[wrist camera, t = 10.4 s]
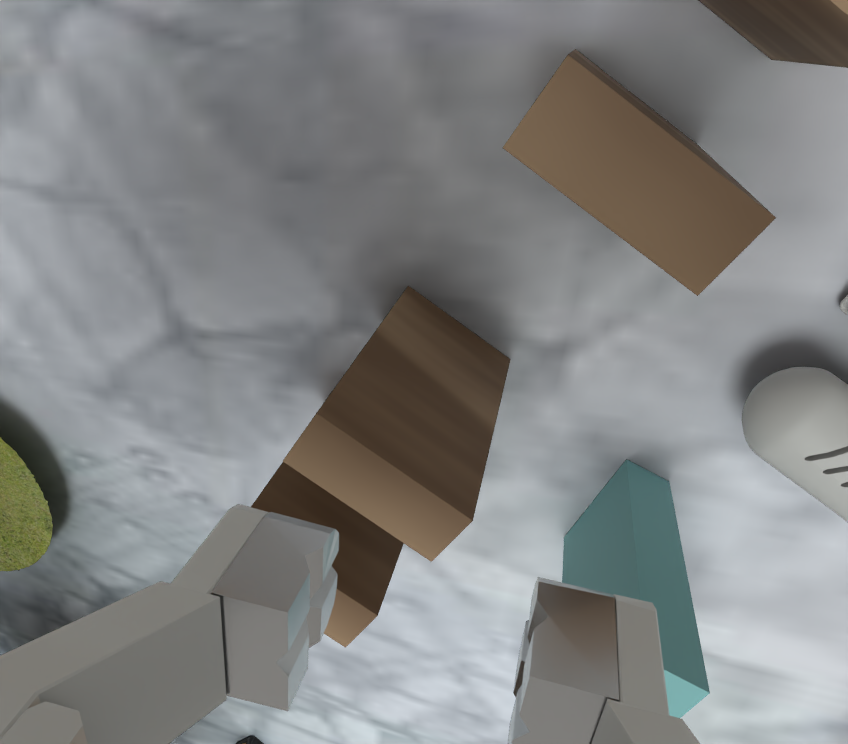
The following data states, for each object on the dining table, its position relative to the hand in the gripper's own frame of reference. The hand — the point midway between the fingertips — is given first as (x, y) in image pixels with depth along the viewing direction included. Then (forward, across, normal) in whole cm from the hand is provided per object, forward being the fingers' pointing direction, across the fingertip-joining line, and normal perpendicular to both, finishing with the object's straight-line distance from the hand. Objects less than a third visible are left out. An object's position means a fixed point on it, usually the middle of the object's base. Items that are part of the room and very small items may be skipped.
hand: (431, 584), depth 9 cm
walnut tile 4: (+17, +3, +4) cm, 18 cm away
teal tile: (+17, -6, +11) cm, 21 cm away
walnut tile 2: (+17, -2, -5) cm, 18 cm away
